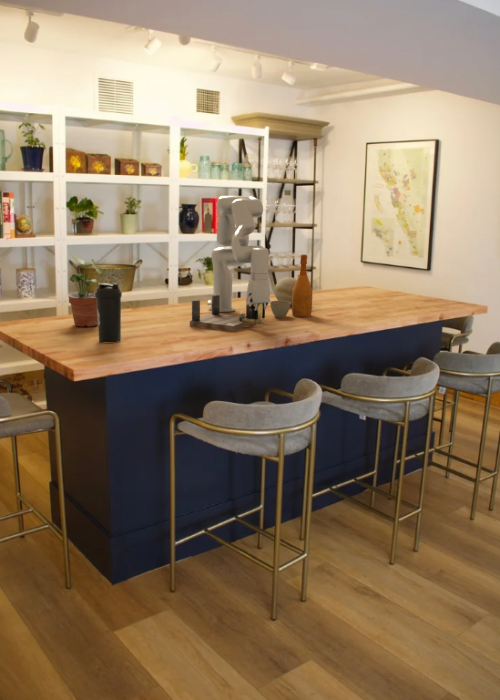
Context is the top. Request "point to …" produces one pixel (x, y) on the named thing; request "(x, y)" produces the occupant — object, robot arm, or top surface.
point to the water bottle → (109, 312)
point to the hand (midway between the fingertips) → (258, 318)
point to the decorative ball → (285, 289)
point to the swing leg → (258, 321)
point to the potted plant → (84, 298)
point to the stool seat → (218, 317)
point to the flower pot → (280, 308)
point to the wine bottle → (302, 292)
